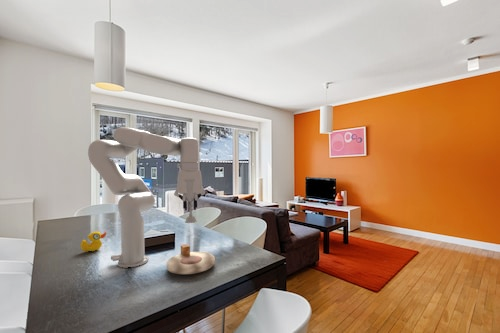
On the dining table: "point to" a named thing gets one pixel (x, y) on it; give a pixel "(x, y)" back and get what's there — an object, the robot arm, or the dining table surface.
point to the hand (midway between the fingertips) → (190, 209)
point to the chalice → (190, 200)
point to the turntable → (190, 261)
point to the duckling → (93, 242)
